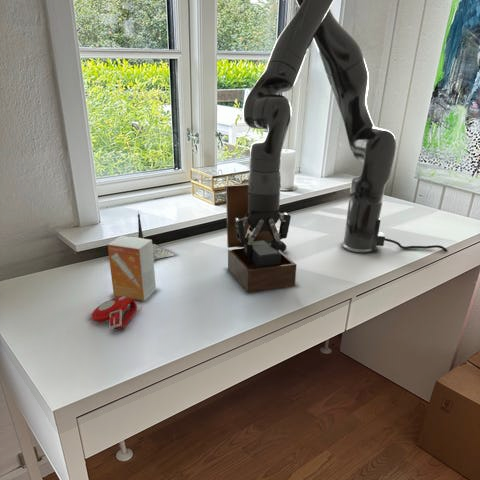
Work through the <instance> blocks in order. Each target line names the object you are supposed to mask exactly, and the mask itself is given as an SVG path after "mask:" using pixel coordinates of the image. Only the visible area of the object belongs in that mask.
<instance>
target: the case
mask: <svg viewBox="0 0 480 480" xmlns="http://www.w3.org/2000/svg"><path fill="white" fill-rule="evenodd" d="M279 252H280V253H281V264H279V265H272V266H265V267H257V266H256V265H255V264H254V263H253V262H252V261H251V260H250V259H249V258H248V257H247V256H246V255H245V254H244V246H241V247H232V248H228V249H227V270H228V271H229V272H230V274H231V275H232V276H233V277H234V279H235V280H236V281H237V282H238V283H239V284H240V286H241V287H242V288H243V289H244V290H245V292H246V293H247V294H250V293H257V292H263V291H270V290H277V289H283V288H289V287H295V286H296V278H297V277H296V276H297V263H295V262H294V261H293V260H292V259H291V258H289V257H288V256H287V255H286V254H285V253H284V252H281V251H280V250H279Z"/></svg>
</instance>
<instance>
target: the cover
mask: <svg viewBox="0 0 480 480" xmlns="http://www.w3.org/2000/svg"><path fill="white" fill-rule="evenodd" d="M225 202H226V203H225V205H226V206H225V207H226V240H227V242H226V243H227V244H226V245H227V246H226V247H227V248H228V249H232V248H240V247H244V244H242V243H241V242H240V241H239V240H238V239H237V233H236V226H235V218H236V217H239V218H242V217H246V215H247V213H248V183H245V184H231V185H225ZM249 225H250V224H249V223H248V222H246V224H245V227H244V234H245V236H246V234H247V230H248V227H249ZM271 239H273V238H272V236H271V234H270V232H269V231H268V232H267V231H263V232H259V233H258V234H257V236H256V237H255V238H254V240H253V241H260V240H266V241H267V242H268V243H271Z"/></svg>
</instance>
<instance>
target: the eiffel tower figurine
mask: <svg viewBox="0 0 480 480" xmlns="http://www.w3.org/2000/svg"><path fill="white" fill-rule="evenodd" d="M137 211H138V213H137V224H138V237H137V238H142V239H145V236H144V234H143V233H144V232H143V227H142V222H141V214H140V213H139V210H137ZM152 247H153V259H154V261H156V260H159V259H165V258H169V257H173V256H174V257H175V254H173V253H172V252H170V251H168V250H166V249H165V248H163V247H161V246H160V245H157V244H156V243H152Z"/></svg>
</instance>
